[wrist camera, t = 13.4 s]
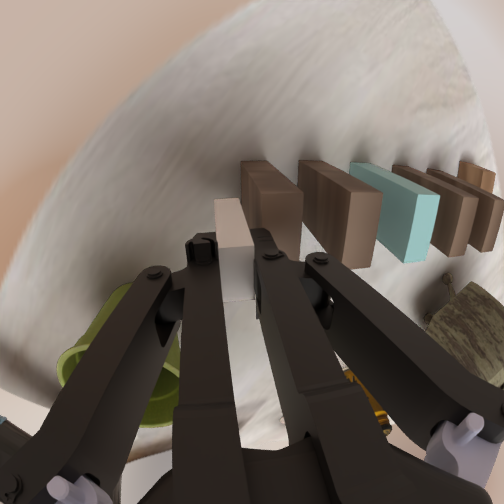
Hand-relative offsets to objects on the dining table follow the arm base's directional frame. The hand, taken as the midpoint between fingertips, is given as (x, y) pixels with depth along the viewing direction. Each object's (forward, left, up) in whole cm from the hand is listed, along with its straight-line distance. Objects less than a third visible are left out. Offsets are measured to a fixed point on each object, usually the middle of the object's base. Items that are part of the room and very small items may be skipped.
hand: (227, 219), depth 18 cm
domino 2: (+8, 0, -7) cm, 10 cm away
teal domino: (+13, 0, -7) cm, 15 cm away
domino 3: (+18, 0, -7) cm, 19 cm away
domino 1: (+3, 0, -7) cm, 8 cm away
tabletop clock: (+31, -18, -7) cm, 36 cm away
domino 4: (+23, 0, -7) cm, 24 cm away
